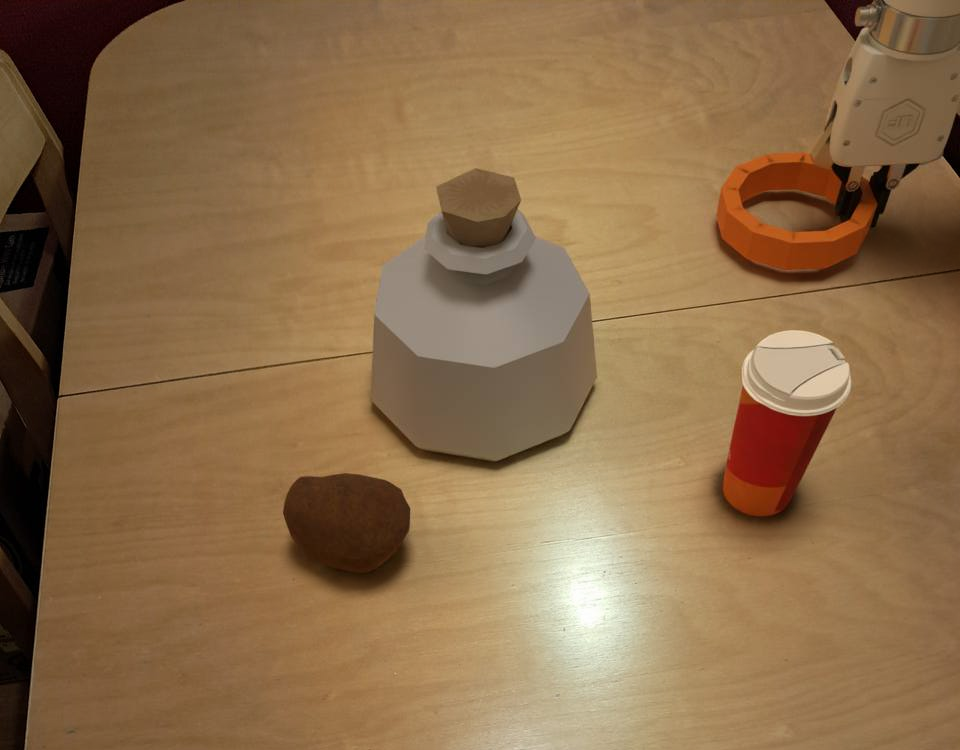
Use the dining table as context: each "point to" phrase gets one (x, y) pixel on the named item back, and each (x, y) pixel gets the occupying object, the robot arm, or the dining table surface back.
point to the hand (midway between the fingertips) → (856, 218)
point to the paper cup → (782, 417)
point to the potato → (347, 519)
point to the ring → (783, 244)
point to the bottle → (481, 329)
